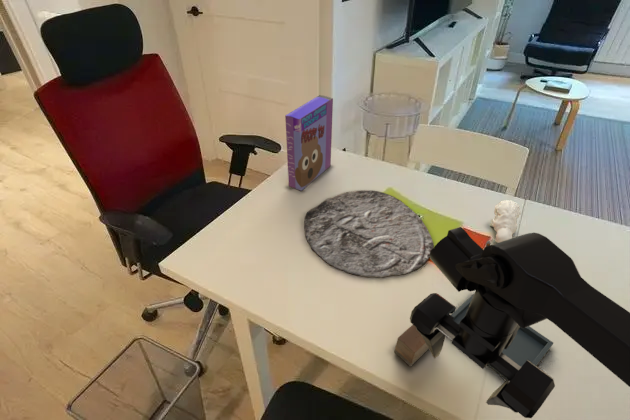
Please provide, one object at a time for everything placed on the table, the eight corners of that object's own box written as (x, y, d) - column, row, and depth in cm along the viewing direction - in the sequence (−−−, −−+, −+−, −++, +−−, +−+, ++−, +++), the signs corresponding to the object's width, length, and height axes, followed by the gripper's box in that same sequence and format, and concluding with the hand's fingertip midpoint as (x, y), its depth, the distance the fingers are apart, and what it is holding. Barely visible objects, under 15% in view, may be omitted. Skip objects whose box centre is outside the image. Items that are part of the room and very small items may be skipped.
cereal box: (301, 191, 115) (299, 118, 100) (288, 186, 117) (285, 114, 102) (330, 166, 126) (332, 97, 111) (318, 162, 128) (319, 94, 113)
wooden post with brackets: (489, 247, 94) (493, 240, 90) (482, 276, 91) (487, 270, 87) (481, 245, 95) (485, 238, 91) (475, 273, 92) (478, 267, 88)
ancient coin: (376, 303, 82) (376, 302, 82) (280, 224, 102) (280, 223, 102) (459, 235, 99) (459, 234, 99) (362, 179, 119) (363, 178, 119)
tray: (549, 348, 74) (554, 342, 72) (518, 389, 67) (522, 383, 66) (474, 296, 84) (477, 290, 82) (441, 327, 77) (443, 322, 76)
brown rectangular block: (435, 342, 75) (441, 328, 72) (410, 366, 71) (414, 352, 68) (419, 329, 77) (424, 314, 74) (394, 351, 73) (397, 337, 70)
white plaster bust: (524, 199, 97) (525, 231, 89) (513, 222, 103) (513, 254, 95) (498, 194, 99) (496, 225, 91) (489, 217, 105) (486, 247, 97)
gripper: (597, 330, 45) (547, 390, 55) (463, 247, 57) (441, 310, 66) (557, 389, 40) (509, 444, 50) (417, 284, 51) (400, 346, 61)
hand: (461, 377), depth 57 cm, fingers open, 9 cm apart
